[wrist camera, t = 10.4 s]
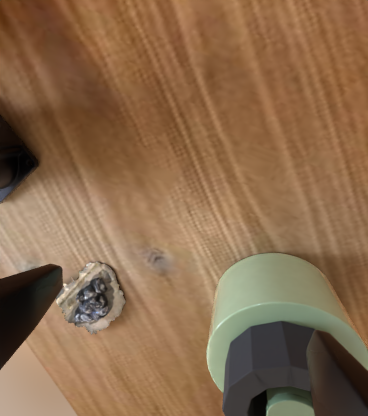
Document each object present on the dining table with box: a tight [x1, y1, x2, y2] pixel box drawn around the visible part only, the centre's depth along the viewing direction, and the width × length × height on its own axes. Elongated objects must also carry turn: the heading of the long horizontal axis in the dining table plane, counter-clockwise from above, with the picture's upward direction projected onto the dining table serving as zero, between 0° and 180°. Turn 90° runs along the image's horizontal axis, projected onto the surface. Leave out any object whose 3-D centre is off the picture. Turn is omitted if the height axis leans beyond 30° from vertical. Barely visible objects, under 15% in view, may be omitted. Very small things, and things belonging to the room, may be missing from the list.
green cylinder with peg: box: [206, 253, 368, 416], centre depth 17 cm, size 10×10×9 cm
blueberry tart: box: [56, 262, 126, 335], centre depth 24 cm, size 7×8×2 cm
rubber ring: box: [222, 321, 315, 416], centre depth 15 cm, size 7×7×3 cm
